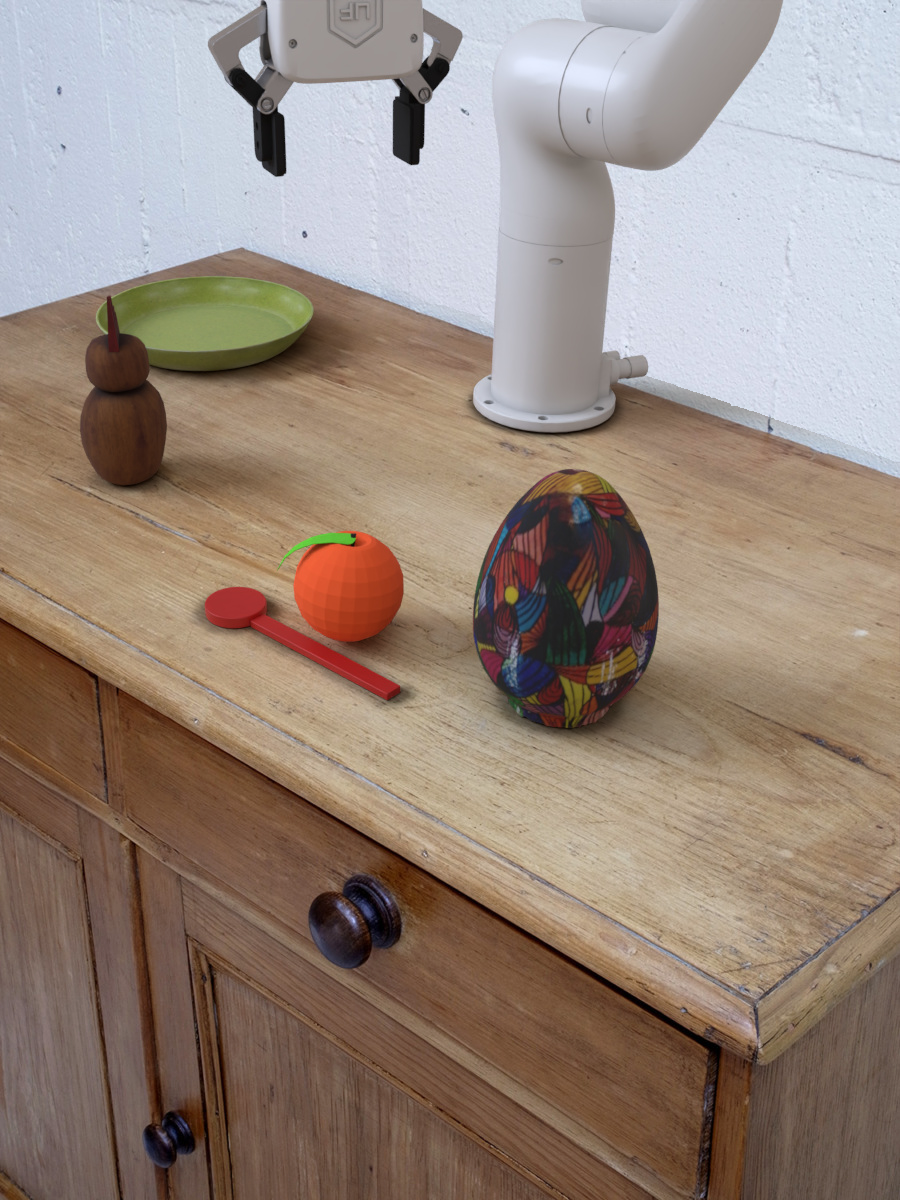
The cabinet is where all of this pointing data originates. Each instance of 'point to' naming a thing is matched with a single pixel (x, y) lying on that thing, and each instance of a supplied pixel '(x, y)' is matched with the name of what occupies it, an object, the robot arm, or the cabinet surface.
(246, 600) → the spoon
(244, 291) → the saucer
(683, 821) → the cabinet surface
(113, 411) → the wooden figurine
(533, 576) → the egg
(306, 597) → the clementine
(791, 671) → the cabinet surface
